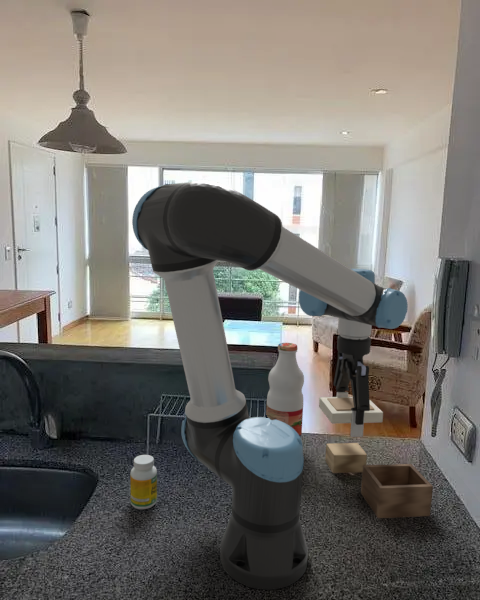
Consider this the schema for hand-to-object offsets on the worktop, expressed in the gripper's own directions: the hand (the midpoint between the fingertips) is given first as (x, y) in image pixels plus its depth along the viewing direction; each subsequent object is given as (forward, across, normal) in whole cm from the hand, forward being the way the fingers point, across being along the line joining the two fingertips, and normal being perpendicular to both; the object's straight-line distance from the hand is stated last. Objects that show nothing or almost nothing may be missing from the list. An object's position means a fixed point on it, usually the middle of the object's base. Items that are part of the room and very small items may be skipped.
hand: (348, 426), depth 111 cm
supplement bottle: (+11, -11, +47) cm, 50 cm away
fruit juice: (+11, +11, +13) cm, 20 cm away
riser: (+11, 0, 0) cm, 11 cm away
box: (+11, -16, -5) cm, 20 cm away
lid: (-3, 0, 0) cm, 3 cm away
